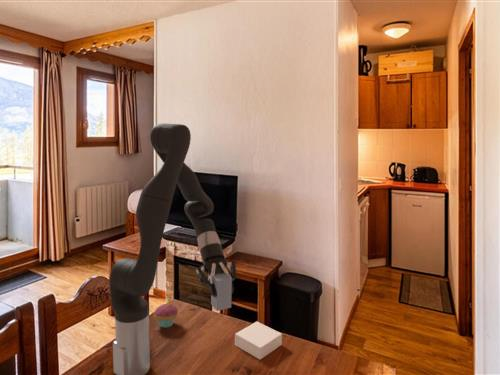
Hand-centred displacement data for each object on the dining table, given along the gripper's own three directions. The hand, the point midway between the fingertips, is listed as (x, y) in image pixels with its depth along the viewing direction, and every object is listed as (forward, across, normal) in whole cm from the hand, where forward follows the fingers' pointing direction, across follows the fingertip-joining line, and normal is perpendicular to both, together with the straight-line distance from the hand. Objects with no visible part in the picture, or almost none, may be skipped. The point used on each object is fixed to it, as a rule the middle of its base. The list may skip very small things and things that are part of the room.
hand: (223, 294), depth 112 cm
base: (+16, +11, +10) cm, 21 cm away
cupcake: (-2, -13, +28) cm, 31 cm away
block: (+2, 0, +5) cm, 5 cm away
